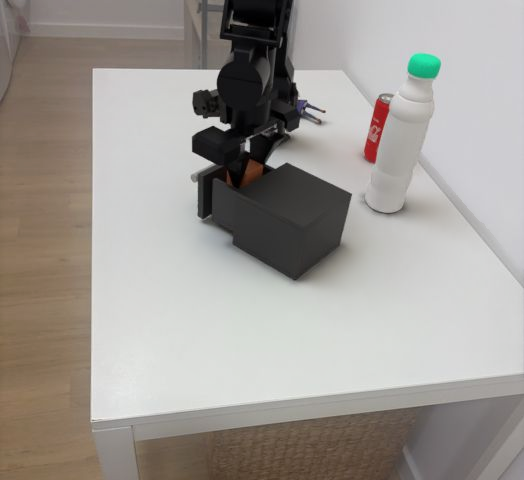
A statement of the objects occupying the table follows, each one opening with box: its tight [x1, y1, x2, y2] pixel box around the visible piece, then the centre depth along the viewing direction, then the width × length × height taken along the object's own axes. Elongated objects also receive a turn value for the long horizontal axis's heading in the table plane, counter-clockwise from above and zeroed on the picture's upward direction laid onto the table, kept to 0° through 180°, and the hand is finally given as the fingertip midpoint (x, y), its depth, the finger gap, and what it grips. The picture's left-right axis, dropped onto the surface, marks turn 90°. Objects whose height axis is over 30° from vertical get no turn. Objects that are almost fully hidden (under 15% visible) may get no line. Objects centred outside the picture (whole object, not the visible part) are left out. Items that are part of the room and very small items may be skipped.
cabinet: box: [232, 162, 353, 281], centre depth 82 cm, size 13×13×10 cm
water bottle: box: [364, 52, 442, 214], centre depth 88 cm, size 7×7×25 cm
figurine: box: [297, 91, 327, 124], centre depth 118 cm, size 6×4×15 cm
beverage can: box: [363, 92, 395, 164], centre depth 104 cm, size 5×5×12 cm
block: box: [227, 159, 263, 189], centre depth 83 cm, size 4×4×4 cm
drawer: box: [190, 149, 276, 232], centre depth 86 cm, size 16×11×8 cm
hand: (244, 182), depth 84 cm, fingers closed on block, 4 cm apart
